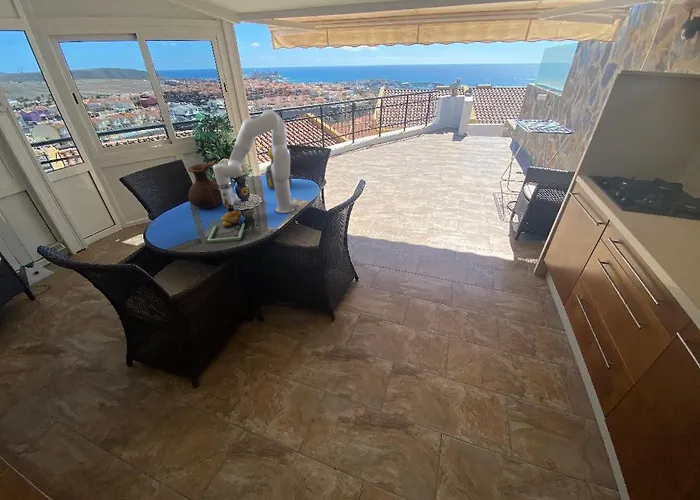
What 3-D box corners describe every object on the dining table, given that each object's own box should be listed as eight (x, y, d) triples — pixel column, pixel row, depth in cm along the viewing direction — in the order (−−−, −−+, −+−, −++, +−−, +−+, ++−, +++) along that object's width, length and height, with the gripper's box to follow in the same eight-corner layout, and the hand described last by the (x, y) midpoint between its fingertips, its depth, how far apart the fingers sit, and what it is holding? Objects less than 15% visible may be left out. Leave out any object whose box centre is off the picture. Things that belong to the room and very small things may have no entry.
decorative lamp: (297, 184, 232) (292, 145, 215) (280, 192, 219) (274, 151, 202) (279, 180, 240) (273, 142, 224) (262, 188, 227) (254, 148, 210)
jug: (198, 215, 189) (182, 169, 173) (187, 205, 203) (172, 161, 186) (231, 205, 201) (219, 161, 185) (219, 196, 215) (207, 154, 198)
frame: (245, 225, 176) (244, 223, 175) (240, 239, 162) (239, 237, 161) (215, 227, 174) (214, 225, 173) (207, 242, 160) (206, 240, 159)
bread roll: (229, 230, 172) (225, 217, 167) (217, 226, 175) (213, 214, 171) (244, 220, 181) (242, 208, 177) (233, 217, 185) (230, 206, 180)
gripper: (228, 189, 167) (235, 218, 177) (233, 180, 179) (240, 208, 189) (214, 190, 166) (223, 219, 176) (221, 181, 178) (228, 208, 188)
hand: (232, 213), depth 183 cm, fingers closed
